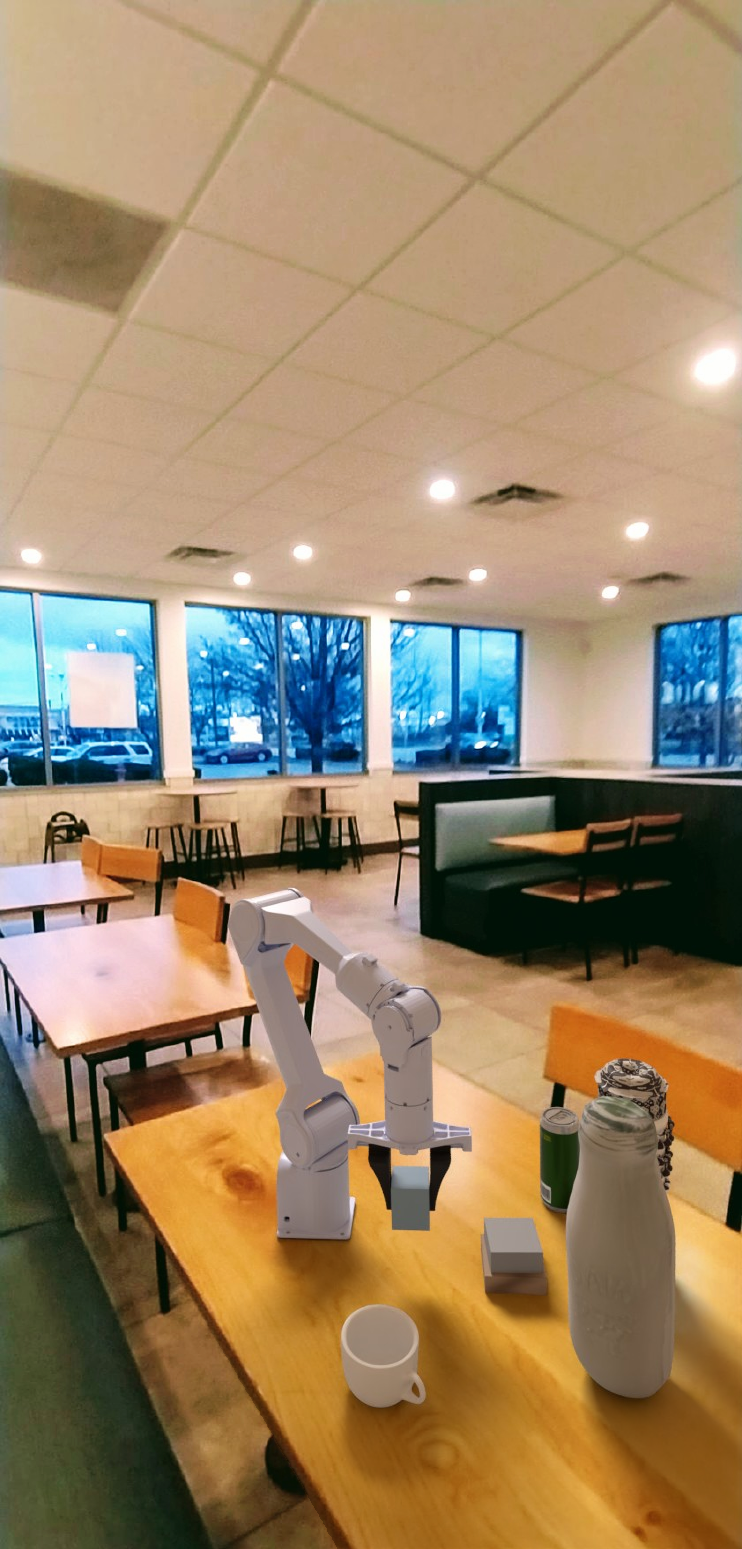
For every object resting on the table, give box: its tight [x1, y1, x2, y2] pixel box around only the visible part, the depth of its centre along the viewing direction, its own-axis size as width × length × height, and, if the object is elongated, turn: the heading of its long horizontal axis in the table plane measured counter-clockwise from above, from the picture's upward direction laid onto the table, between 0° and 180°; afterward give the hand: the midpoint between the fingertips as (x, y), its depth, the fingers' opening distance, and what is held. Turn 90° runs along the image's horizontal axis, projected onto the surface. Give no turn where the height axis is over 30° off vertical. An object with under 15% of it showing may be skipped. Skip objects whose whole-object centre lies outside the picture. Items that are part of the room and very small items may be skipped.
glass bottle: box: [565, 1096, 677, 1399], centre depth 72 cm, size 10×10×28 cm
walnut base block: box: [480, 1233, 548, 1296], centre depth 87 cm, size 7×7×2 cm
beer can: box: [539, 1106, 580, 1214], centre depth 100 cm, size 5×5×12 cm
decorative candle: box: [594, 1058, 676, 1194], centre depth 86 cm, size 9×9×25 cm
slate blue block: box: [390, 1165, 431, 1232], centre depth 87 cm, size 4×4×5 cm
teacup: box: [340, 1303, 427, 1409], centre depth 72 cm, size 10×8×5 cm
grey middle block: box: [483, 1217, 544, 1273], centre depth 87 cm, size 6×6×2 cm
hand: (410, 1205), depth 87 cm, fingers closed on slate blue block, 4 cm apart
